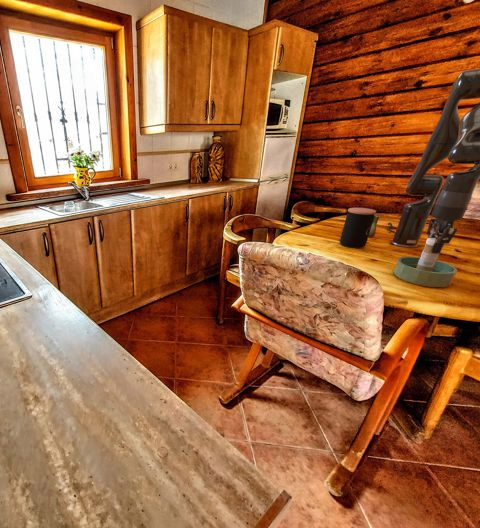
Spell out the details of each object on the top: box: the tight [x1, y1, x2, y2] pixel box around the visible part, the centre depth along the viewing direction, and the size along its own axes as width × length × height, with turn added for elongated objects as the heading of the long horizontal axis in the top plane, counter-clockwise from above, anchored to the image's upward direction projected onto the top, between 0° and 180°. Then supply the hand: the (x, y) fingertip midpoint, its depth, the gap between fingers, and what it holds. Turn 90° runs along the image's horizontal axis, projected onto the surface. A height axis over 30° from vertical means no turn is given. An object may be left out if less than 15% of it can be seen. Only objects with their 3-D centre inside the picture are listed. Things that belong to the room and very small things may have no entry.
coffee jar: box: [339, 207, 377, 249], centre depth 137 cm, size 11×11×18 cm
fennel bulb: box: [368, 214, 380, 238], centre depth 148 cm, size 6×5×12 cm
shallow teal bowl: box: [392, 256, 458, 288], centre depth 105 cm, size 16×16×6 cm
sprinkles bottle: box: [416, 237, 445, 272], centre depth 103 cm, size 5×5×13 cm
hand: (432, 250), depth 101 cm, fingers closed on sprinkles bottle, 4 cm apart
